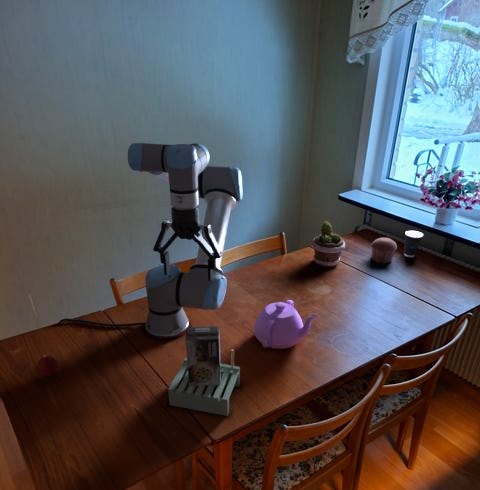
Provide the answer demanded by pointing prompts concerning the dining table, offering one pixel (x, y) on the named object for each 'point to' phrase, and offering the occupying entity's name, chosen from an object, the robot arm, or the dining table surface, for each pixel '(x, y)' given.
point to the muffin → (383, 250)
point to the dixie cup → (412, 243)
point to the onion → (47, 365)
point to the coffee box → (203, 355)
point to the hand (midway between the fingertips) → (188, 276)
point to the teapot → (281, 325)
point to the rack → (206, 401)
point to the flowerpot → (327, 247)
